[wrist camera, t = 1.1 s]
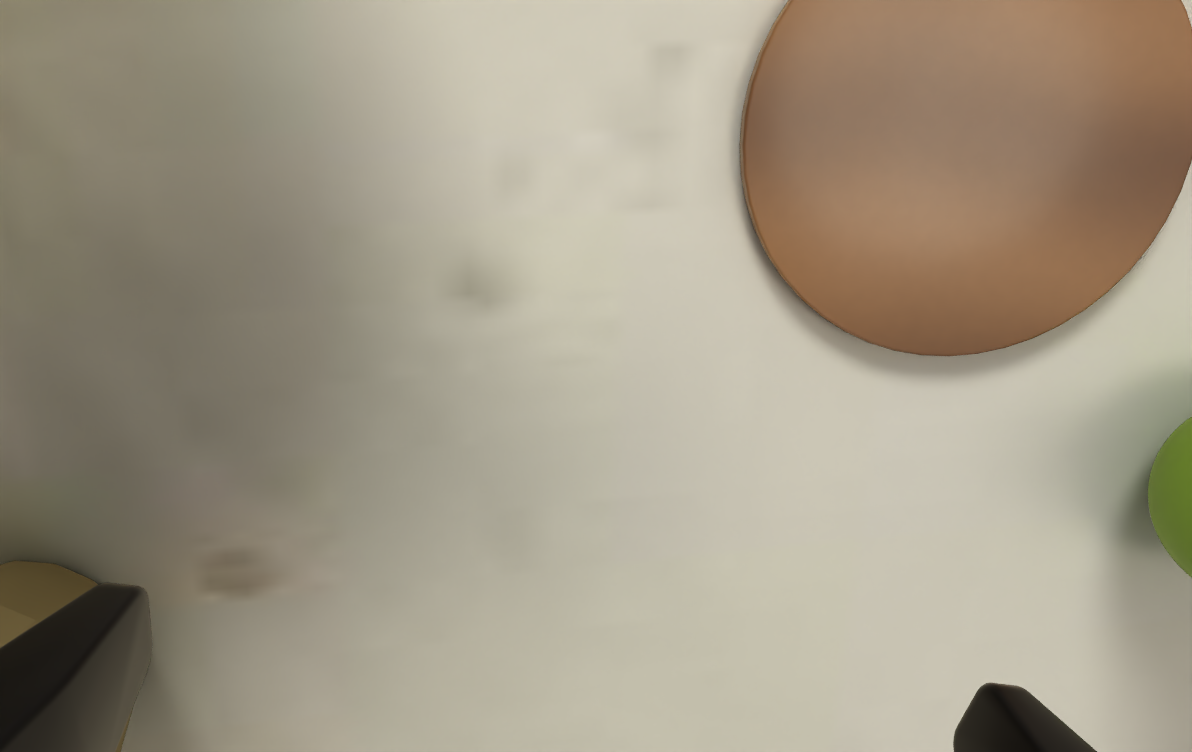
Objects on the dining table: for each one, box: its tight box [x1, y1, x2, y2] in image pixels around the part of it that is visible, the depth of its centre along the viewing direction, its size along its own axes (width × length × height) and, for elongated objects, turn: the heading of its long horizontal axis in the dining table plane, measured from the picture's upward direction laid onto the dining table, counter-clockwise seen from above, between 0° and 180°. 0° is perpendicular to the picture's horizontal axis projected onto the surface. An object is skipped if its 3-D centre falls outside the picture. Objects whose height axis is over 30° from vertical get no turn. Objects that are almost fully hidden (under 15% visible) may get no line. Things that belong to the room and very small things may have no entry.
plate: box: [740, 0, 1192, 356], centre depth 21 cm, size 11×11×1 cm
